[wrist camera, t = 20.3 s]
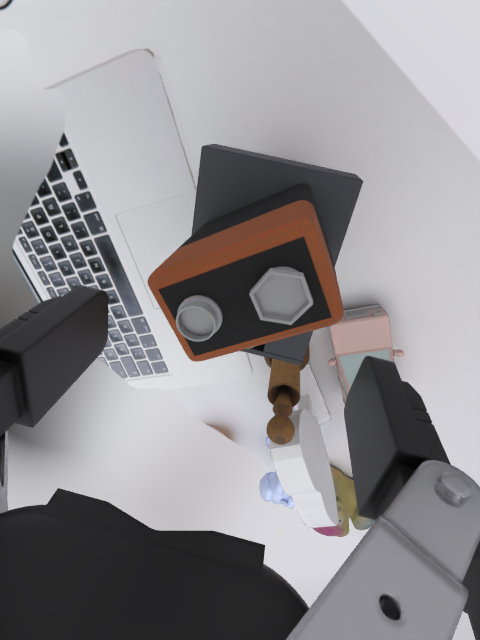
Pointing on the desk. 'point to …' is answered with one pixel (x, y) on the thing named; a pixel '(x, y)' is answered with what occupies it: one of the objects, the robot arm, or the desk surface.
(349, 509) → the sculpture
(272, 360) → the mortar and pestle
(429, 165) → the desk surface
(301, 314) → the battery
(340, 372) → the toy car
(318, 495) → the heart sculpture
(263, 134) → the desk surface
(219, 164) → the dark grey tall block
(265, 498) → the toy figurine
